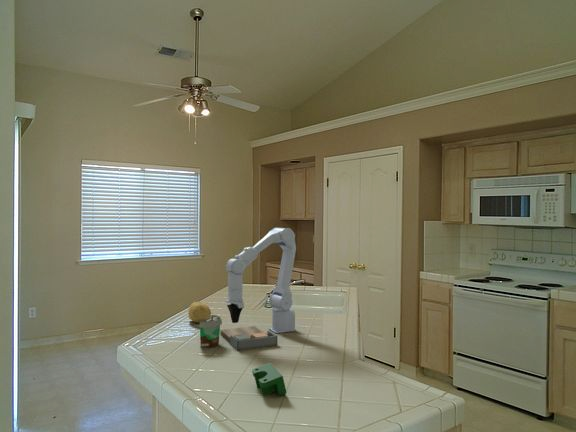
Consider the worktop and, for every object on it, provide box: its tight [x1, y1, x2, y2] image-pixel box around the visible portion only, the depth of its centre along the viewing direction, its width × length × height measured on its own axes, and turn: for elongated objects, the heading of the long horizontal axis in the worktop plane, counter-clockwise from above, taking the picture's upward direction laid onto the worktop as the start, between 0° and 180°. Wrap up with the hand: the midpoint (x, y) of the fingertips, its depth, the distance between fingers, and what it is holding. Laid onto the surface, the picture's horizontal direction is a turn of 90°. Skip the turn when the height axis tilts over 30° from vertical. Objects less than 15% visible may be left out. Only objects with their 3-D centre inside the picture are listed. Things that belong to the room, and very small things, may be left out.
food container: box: [198, 314, 223, 349], centre depth 160 cm, size 12×6×10 cm, turn 168°
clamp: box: [251, 362, 287, 397], centre depth 119 cm, size 12×6×9 cm, turn 14°
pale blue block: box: [234, 335, 251, 340], centre depth 161 cm, size 5×5×2 cm
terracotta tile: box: [251, 332, 268, 339], centre depth 164 cm, size 5×5×2 cm
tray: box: [229, 330, 278, 351], centre depth 161 cm, size 16×8×4 cm, turn 116°
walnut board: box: [219, 325, 267, 344], centre depth 171 cm, size 15×14×2 cm
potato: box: [188, 301, 212, 324], centre depth 194 cm, size 10×14×10 cm
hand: (235, 322), depth 170 cm, fingers closed
